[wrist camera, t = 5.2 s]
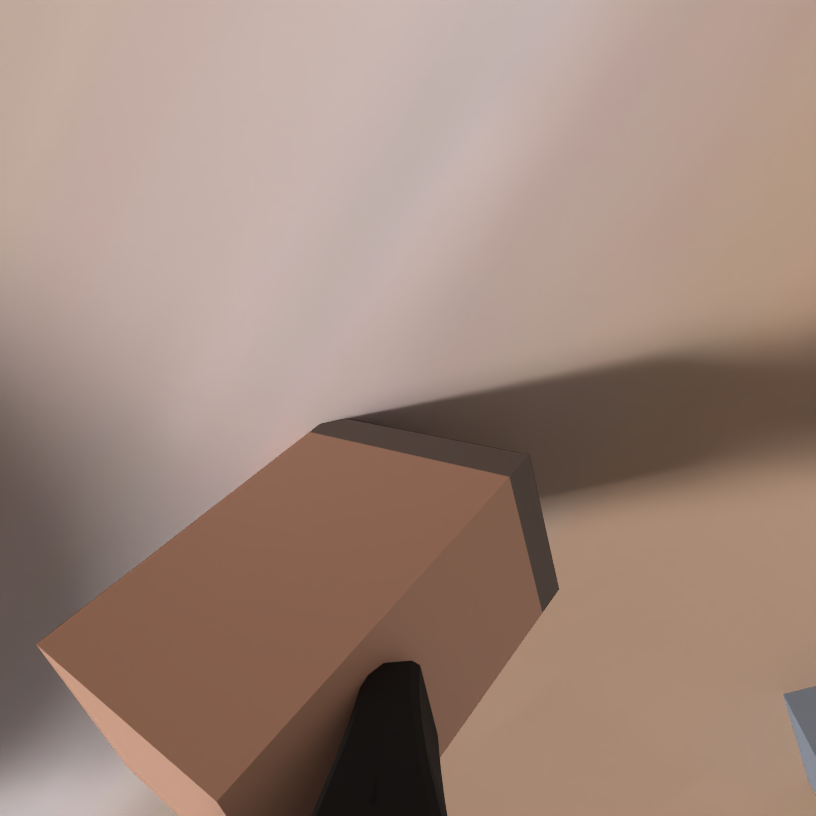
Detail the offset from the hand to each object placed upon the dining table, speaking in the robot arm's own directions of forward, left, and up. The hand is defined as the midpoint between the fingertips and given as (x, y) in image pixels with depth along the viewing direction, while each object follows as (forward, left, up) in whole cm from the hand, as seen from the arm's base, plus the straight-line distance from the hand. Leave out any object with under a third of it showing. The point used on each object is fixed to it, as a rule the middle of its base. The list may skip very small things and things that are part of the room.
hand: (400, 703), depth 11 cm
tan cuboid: (0, -1, -5) cm, 5 cm away
